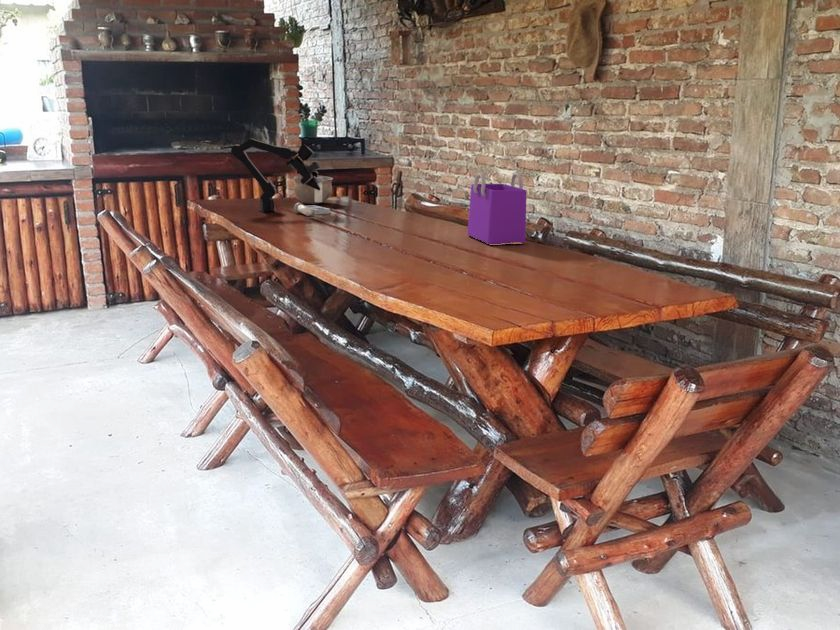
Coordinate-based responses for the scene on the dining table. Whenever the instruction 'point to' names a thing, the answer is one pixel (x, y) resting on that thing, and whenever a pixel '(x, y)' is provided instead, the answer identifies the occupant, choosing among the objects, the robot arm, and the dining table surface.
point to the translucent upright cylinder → (318, 192)
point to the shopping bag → (497, 211)
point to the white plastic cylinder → (302, 209)
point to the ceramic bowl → (312, 190)
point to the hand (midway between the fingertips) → (320, 189)
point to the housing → (319, 209)
